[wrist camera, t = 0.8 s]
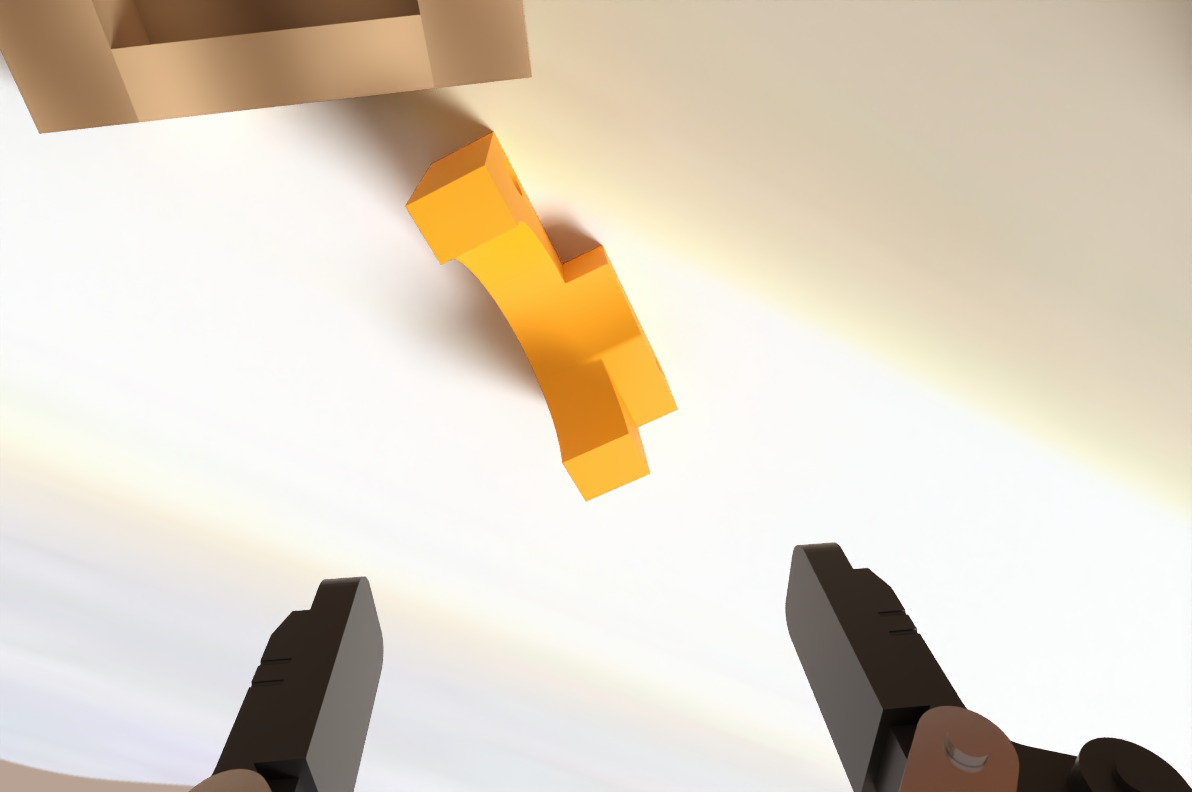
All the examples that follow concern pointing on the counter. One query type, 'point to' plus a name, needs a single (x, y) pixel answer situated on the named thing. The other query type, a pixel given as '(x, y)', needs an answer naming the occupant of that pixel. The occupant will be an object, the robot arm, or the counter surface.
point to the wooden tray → (246, 53)
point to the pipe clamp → (550, 313)
